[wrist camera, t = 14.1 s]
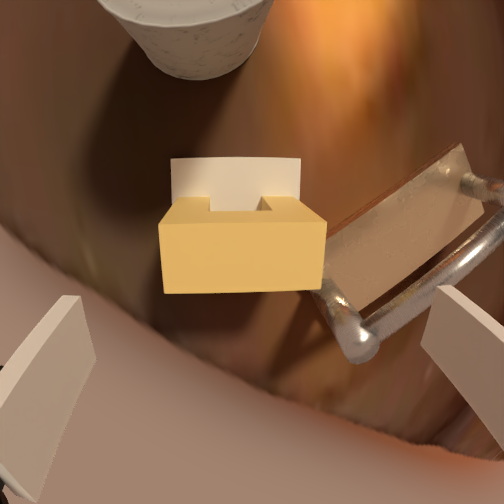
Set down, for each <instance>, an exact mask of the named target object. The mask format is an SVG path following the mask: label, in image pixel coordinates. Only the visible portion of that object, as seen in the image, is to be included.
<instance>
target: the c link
mask: <svg viewBox="0 0 504 504" xmlns="http://www.w3.org/2000/svg"><path fill="white" fill-rule="evenodd" d="M158 226H159V240H160V253H161V265H162V276H163V286H164V294H183V293H235V292H267V291H292V290H314V289H321V284H322V274H323V264H324V253H325V242H326V229H327V222H326V221H325V220H323V219H322V218H321V217H320V216H318V215H317V214H316V213H314V212H313V211H312V210H310V209H309V208H308V207H307V206H305V205H304V204H303V203H301V202H300V201H299V200H297V199H296V198H295V197H293V196H262V203H261V211H210V197H178V198H177V199H176V201H175V202H174V203H173V205H172V206H171V208H170V209H169V210H168V212H167V213H166V215H165V216H164V217H163V219H162V220H161V222H160V223H159V224H158Z"/></svg>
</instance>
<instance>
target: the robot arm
mask: <svg viewBox="0 0 504 504" xmlns="http://www.w3.org/2000/svg"><path fill="white" fill-rule="evenodd" d="M420 345H421V346H422V347H423V348H424V350H425V351H426V352H427V353H428V354H429V355H430V357H431V358H432V359H433V360H434V361H435V363H436V364H437V365H438V366H439V367H440V369H441V370H442V371H443V372H444V374H445V375H446V376H447V377H448V378H449V380H450V381H451V382H452V383H453V385H454V386H455V387H456V388H457V390H458V391H459V392H460V393H461V395H462V396H463V397H464V399H465V400H466V401H467V402H468V404H469V405H470V406H471V408H472V409H473V410H474V411H475V413H476V414H477V415H478V417H479V418H480V419H481V421H482V422H483V423H484V425H485V426H486V427H487V429H488V430H489V431H490V433H491V434H492V435H493V437H494V438H495V439H496V441H497V442H498V444H499V445H500V446H501V448H502V449H503V451H504V327H503V326H502V325H501V324H499V323H498V322H497V321H496V320H495V319H493V318H492V317H491V316H490V315H488V314H487V313H486V312H485V311H483V310H482V309H481V308H480V307H478V306H477V305H476V304H475V303H473V302H472V301H471V300H470V299H468V298H467V297H466V296H464V295H463V294H462V293H461V292H459V291H458V290H457V289H455V288H454V287H453V286H451V285H443V286H436V290H435V295H434V299H433V302H432V306H431V310H430V314H429V317H428V321H427V324H426V328H425V331H424V334H423V338H422V341H421V344H420ZM96 360H97V359H96V355H95V352H94V348H93V345H92V341H91V337H90V334H89V330H88V326H87V322H86V318H85V314H84V310H83V305H82V301H81V297H80V296H66V295H62V296H61V298H60V299H59V300H58V301H57V302H56V303H55V304H54V306H53V307H52V308H51V309H50V310H49V311H48V312H47V314H46V315H45V316H44V317H43V318H42V320H41V321H40V322H39V323H38V324H37V325H36V327H35V328H34V329H33V330H32V332H31V333H30V334H29V335H28V336H27V338H26V339H25V340H24V341H23V343H22V344H21V345H20V346H19V348H18V349H17V350H16V351H15V353H14V354H13V355H12V357H11V358H10V359H9V361H8V362H7V363H6V365H5V366H0V504H9V503H8V500H7V498H6V496H5V495H4V493H3V492H2V489H3V487H4V485H6V486H7V487H8V488H9V489H10V490H11V491H12V492H13V493H14V494H15V495H16V496H19V497H22V498H24V499H27V500H30V501H33V502H35V503H38V500H39V496H40V494H41V491H42V488H43V485H44V482H45V480H46V477H47V474H48V471H49V469H50V466H51V463H52V461H53V458H54V456H55V453H56V450H57V448H58V445H59V443H60V440H61V438H62V435H63V433H64V431H65V428H66V426H67V423H68V421H69V419H70V417H71V414H72V412H73V410H74V407H75V405H76V403H77V401H78V398H79V396H80V394H81V392H82V390H83V387H84V385H85V383H86V381H87V379H88V377H89V375H90V372H91V370H92V368H93V366H94V364H95V362H96Z"/></svg>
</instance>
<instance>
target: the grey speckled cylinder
mask: <svg viewBox="0 0 504 504" xmlns="http://www.w3.org/2000/svg"><path fill="white" fill-rule="evenodd" d="M97 1H98V2H99V3H100V4H101V5H102V7H103V8H104V9H105V10H106V11H107V12H109V13H110V14H112V15H113V16H114V17H115V18H116V19H117V20H118V21H119V23H120V24H121V25H122V26H123V27H124V28H125V29H126V31H127V32H128V33H129V34H130V35H131V36H132V38H133V39H134V40H135V41H136V42H137V43H138V45H139V46H140V47H141V48H142V49H143V50H144V52H145V53H146V55H147V57H148V58H149V59H150V61H151V62H152V63H153V64H154V65H155V66H156V67H157V68H159V69H160V70H162V71H163V72H164V73H166V74H169V75H171V76H174V77H176V78H181V79H186V80H206V79H211V78H216V77H219V76H221V75H224V74H226V73H229V72H231V71H232V70H234V69H235V68H237V67H238V66H240V65H241V64H242V63H243V62H244V61H245V60H246V59H247V58H248V57H249V56H250V55H251V53H252V52H253V50H254V48H255V47H256V45H257V42H258V39H259V36H260V32H261V30H262V27H263V25H264V22H265V20H266V18H267V15H268V13H269V10H270V8H271V6H272V3H273V1H274V0H97Z"/></svg>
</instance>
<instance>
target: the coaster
mask: <svg viewBox="0 0 504 504" xmlns="http://www.w3.org/2000/svg"><path fill="white" fill-rule="evenodd" d="M300 168H301V159H300V158H277V157H200V158H172V159H171V189H172V205H173V203H174V202H175V201H176V199H177V198H178V197H210V211H261V203H262V196H293V197H295V198H296V199H297V200H299V194H300Z"/></svg>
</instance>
